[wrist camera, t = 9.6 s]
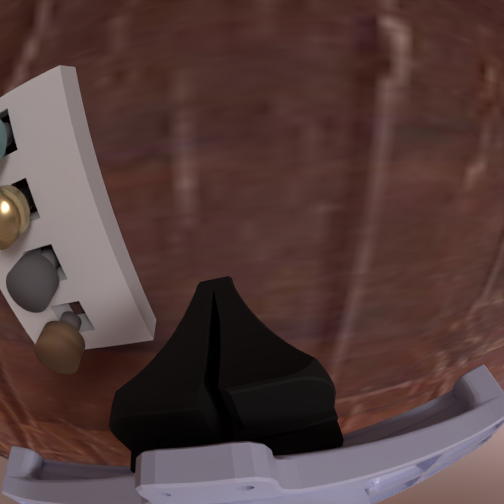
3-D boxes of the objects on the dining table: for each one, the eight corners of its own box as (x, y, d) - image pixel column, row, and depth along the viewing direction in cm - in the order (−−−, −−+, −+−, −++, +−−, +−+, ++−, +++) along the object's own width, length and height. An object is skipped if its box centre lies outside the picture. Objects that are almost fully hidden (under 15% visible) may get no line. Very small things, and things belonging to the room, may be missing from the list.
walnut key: (99, 333, 22) (87, 372, 19) (65, 338, 22) (51, 375, 18) (79, 298, 20) (62, 337, 17) (45, 305, 20) (25, 341, 17)
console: (156, 319, 26) (153, 340, 23) (49, 335, 25) (42, 353, 23) (75, 67, 15) (59, 65, 13) (-39, 132, 15) (-57, 138, 12)
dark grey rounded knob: (76, 274, 21) (58, 309, 17) (42, 282, 21) (22, 315, 17) (58, 232, 19) (33, 262, 15) (23, 243, 19) (-3, 273, 15)
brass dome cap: (51, 215, 18) (23, 242, 15) (16, 227, 18) (-12, 255, 14) (34, 167, 16) (2, 187, 13) (0, 183, 16) (-32, 205, 13)
